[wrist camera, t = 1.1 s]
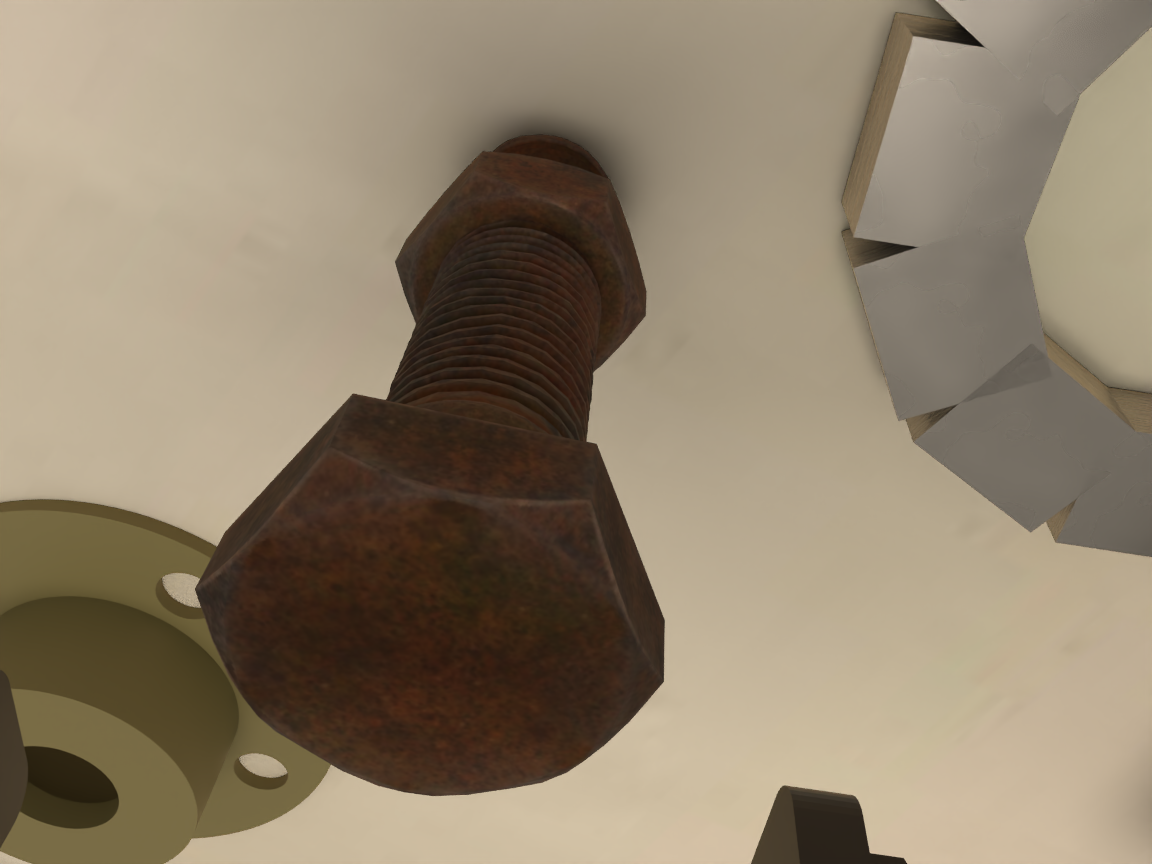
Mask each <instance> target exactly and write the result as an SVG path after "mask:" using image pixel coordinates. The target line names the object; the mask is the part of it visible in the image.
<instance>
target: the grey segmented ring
mask: <svg viewBox="0 0 1152 864" xmlns="http://www.w3.org/2000/svg"><path fill="white" fill-rule="evenodd" d="M936 1H937V2H938V3H939V4H940V5H941V6H942V7H943V8H944V9H945V10H946V11H947V12H948V13H949V14H950V15H951V16H953V17H954V18H955V19H956V20H957V21H958V22H953V21H947V20H941V19H934V18H928V17H922V16H916V15H909V14H903V13H897V12H896V13H895V17H894V20H893V24H892V27H891V31H890V34H889V38H888V41H887V45H886V48H885V52H884V55H883V59H882V62H881V66H880V69H879V73H878V76H877V80H876V83H875V87H874V90H873V94H872V97H871V101H870V104H869V108H868V111H867V114H866V118H865V121H864V125H863V128H862V132H861V135H860V139H859V142H858V146H857V149H856V153H855V156H854V160H853V163H852V167H851V170H850V174H849V177H848V181H847V184H846V188H845V191H844V195H843V198H842V205H843V208H844V211H845V214H846V216H847V219H848V222H849V225H850V228H851V229H848V230H845V231H842V236H843V239H844V242H845V246H846V249H847V252H848V256H849V259H850V263H851V266H852V269H853V273H854V276H855V279H856V283H857V286H858V289H859V293H860V296H861V300H862V303H863V306H864V310H865V313H866V316H867V320H868V323H869V326H870V330H871V333H872V337H873V340H874V343H875V347H876V350H877V353H878V357H879V360H880V364H881V367H882V370H883V374H884V377H885V380H886V383H887V386H888V390H889V393H890V396H891V399H892V402H893V405H894V408H895V411H896V415H897V418H898V421H900V420H904V419H906V421H907V424H908V427H909V430H910V433H911V436H912V439H913V442H914V443H915V444H917V445H918V446H919V447H920V448H922V449H923V450H924V451H926V452H927V453H928V454H930V455H931V456H932V457H933V458H935V459H936V460H937V461H939V462H940V463H941V464H943V465H944V466H945V467H946V468H948V469H949V470H950V471H952V472H953V473H954V474H956V475H957V476H958V477H959V478H961V479H962V480H963V481H965V482H966V483H967V484H969V485H970V486H971V487H972V488H974V489H975V490H976V491H978V492H979V493H980V494H982V495H983V496H984V497H985V498H987V499H988V500H989V501H991V502H992V503H993V504H995V505H996V506H997V507H998V508H1000V509H1001V510H1002V511H1004V512H1005V513H1006V514H1008V515H1009V516H1010V517H1011V518H1013V519H1014V520H1015V521H1017V522H1018V523H1019V524H1021V525H1022V526H1023V527H1024V528H1026V529H1027V530H1028V531H1030V532H1032V531H1033V530H1035V529H1036V528H1037V527H1039V526H1040V525H1041V524H1043V523H1044V522H1046V523H1047V525H1048V527H1049V529H1050V531H1051V533H1052V536H1053V538H1054V540H1055V542H1057V543H1063V544H1070V545H1076V546H1083V547H1089V548H1096V549H1103V550H1109V551H1116V552H1122V553H1129V554H1136V555H1142V556H1149V557H1152V394H1149V393H1142V392H1136V391H1129V390H1123V389H1116V388H1110V387H1107V386H1105V385H1104V384H1103V383H1102V382H1101V381H1099V380H1098V379H1097V378H1096V377H1095V376H1094V375H1092V374H1091V373H1090V372H1089V371H1088V370H1087V369H1085V368H1084V367H1083V366H1082V365H1081V364H1080V363H1078V362H1077V361H1076V360H1075V359H1074V358H1073V357H1071V356H1070V355H1069V354H1068V353H1067V352H1066V351H1064V350H1063V349H1062V348H1061V347H1060V346H1058V345H1057V344H1056V343H1055V342H1054V341H1053V340H1051V339H1050V338H1049V337H1048V336H1047V335H1046V334H1044V333H1043V330H1042V325H1041V320H1040V315H1039V310H1038V305H1037V300H1036V295H1035V290H1034V285H1033V281H1032V276H1031V271H1030V266H1029V261H1028V256H1027V251H1026V246H1025V241H1024V236H1025V234H1026V231H1027V229H1028V226H1029V224H1030V221H1031V219H1032V216H1033V214H1034V211H1035V208H1036V206H1037V203H1038V201H1039V198H1040V196H1041V193H1042V191H1043V188H1044V186H1045V183H1046V180H1047V178H1048V175H1049V173H1050V170H1051V168H1052V165H1053V163H1054V160H1055V158H1056V155H1057V153H1058V150H1059V147H1060V145H1061V142H1062V140H1063V137H1064V135H1065V132H1066V130H1067V127H1068V125H1069V122H1070V119H1071V117H1072V114H1073V112H1074V109H1075V107H1076V104H1077V102H1078V99H1079V97H1080V94H1081V93H1082V92H1083V91H1084V90H1085V89H1086V88H1087V87H1088V86H1089V85H1090V84H1091V83H1092V82H1093V81H1094V80H1096V79H1097V78H1098V77H1099V76H1100V75H1101V74H1102V73H1103V72H1104V71H1105V70H1106V69H1107V68H1108V67H1109V66H1110V65H1111V64H1113V63H1114V62H1115V61H1116V60H1117V59H1118V58H1119V57H1120V56H1121V55H1122V54H1123V53H1124V52H1125V51H1126V50H1127V49H1128V48H1129V47H1131V46H1132V45H1133V44H1134V43H1135V42H1136V41H1137V40H1138V39H1139V38H1140V37H1141V36H1142V35H1143V34H1144V33H1145V32H1146V31H1147V30H1149V29H1150V28H1151V27H1152V0H936Z"/></svg>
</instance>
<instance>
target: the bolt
mask: <svg viewBox="0 0 1152 864" xmlns="http://www.w3.org/2000/svg"><path fill="white" fill-rule="evenodd" d="M395 263H396V267H397V270H398V273H399V277H400V280H401V284H402V287H403V290H404V294H405V296H406V299H407V302H408V304H409V307H410V309H411V312H412V315H413V317H414V320H415V322H416V326H415V329H414V331H413V333H412V337H411V339H410V341H409V343H408V345H407V348H406V350H405V353H404V356H403V359H402V360H401V362H400V365H399V368H398V371H397V372H396V375H395V378H394V380H393V382H392V384H391V387H390V392H389V395H388V397H387V399H386V400H382V399H377V398H372V397H367V396H362V395H357V394H352V395H351V396H350V398H349V399H348V400H347V401H346V402H345V403H344V404H343V405H342V406H341V407H340V408H339V409H338V411H337V412H336V413H335V414H334V415H333V416H332V417H331V418H330V419H329V420H328V421H327V422H326V424H325V425H324V426H323V427H322V428H321V429H320V430H319V431H318V432H317V433H316V434H315V435H314V436H313V438H312V439H311V440H310V441H309V442H308V443H307V444H306V445H305V446H304V447H303V448H302V449H301V451H300V452H299V453H298V454H297V455H296V456H295V457H294V458H293V459H292V460H291V461H290V462H289V464H288V465H287V466H286V467H285V468H284V469H283V470H282V471H281V472H280V473H279V474H278V475H277V477H276V478H275V479H274V480H273V481H272V482H271V483H270V484H269V485H268V486H267V487H266V488H265V490H264V491H263V492H262V493H261V494H260V495H259V496H258V497H257V498H256V499H255V500H254V501H253V502H252V504H251V505H250V506H249V507H248V508H247V509H246V510H245V511H244V512H243V513H242V514H241V515H240V517H239V518H238V519H237V520H236V521H235V522H234V523H233V524H232V525H231V526H230V527H229V528H228V530H227V531H226V532H225V533H224V535H223V537H222V539H221V541H220V543H219V545H218V546H217V548H216V550H215V552H214V554H213V556H212V558H211V560H210V562H209V564H208V565H207V567H206V569H205V571H204V573H203V575H202V577H201V579H200V581H199V582H198V584H197V586H196V588H195V590H196V593H197V596H198V599H199V602H200V605H201V608H202V611H203V614H204V617H205V620H206V623H207V626H208V629H209V632H210V635H211V638H212V641H213V643H214V645H215V647H216V649H217V652H218V654H219V656H220V658H221V660H222V662H223V665H224V667H225V669H226V671H227V673H228V675H229V677H230V679H231V680H232V682H233V683H234V685H235V686H236V688H237V689H238V691H239V692H240V694H241V695H242V697H243V698H244V700H245V701H246V702H247V703H248V705H249V706H250V707H251V709H252V710H253V711H254V712H255V714H256V715H257V716H258V717H259V718H260V719H261V720H263V721H264V722H265V723H266V724H267V725H268V726H270V727H271V728H272V729H273V730H274V731H275V732H277V733H279V734H281V735H282V736H284V737H286V738H287V739H289V740H291V741H292V742H294V743H296V744H297V745H299V746H301V747H302V748H304V749H306V750H307V751H309V752H311V753H312V754H314V755H316V756H318V757H319V758H321V759H323V760H324V761H326V762H328V763H330V764H331V765H333V766H335V767H336V768H338V769H340V770H342V771H344V772H346V773H349V774H351V775H353V776H356V777H358V778H361V779H363V780H366V781H368V782H370V783H373V784H375V785H378V786H382V787H386V788H390V789H394V790H398V791H402V792H407V793H414V794H422V795H429V796H446V795H469V794H475V793H482V792H489V791H496V790H503V789H509V788H516V787H521V786H526V785H532V784H537V783H542V782H545V781H547V780H549V779H552V778H554V777H557V776H559V775H562V774H564V773H566V772H568V771H570V770H571V769H573V768H574V767H576V766H577V765H579V764H580V763H582V762H583V761H584V760H586V759H587V758H588V757H590V756H591V755H592V754H593V753H595V752H596V751H597V750H599V749H600V748H601V747H602V746H604V745H605V744H606V743H607V742H608V741H609V740H610V739H611V738H613V737H614V736H615V735H616V734H617V733H618V732H619V731H620V730H621V729H622V728H623V727H624V726H625V725H626V724H627V723H628V722H629V721H630V720H631V719H632V718H633V717H634V716H635V715H636V713H637V712H638V711H639V710H640V709H641V708H642V706H643V705H644V704H645V703H646V702H647V701H648V699H649V698H650V697H651V696H652V695H653V694H654V692H655V691H656V690H657V689H658V688H659V687H660V685H661V684H662V683H663V682H664V628H665V620H664V617H663V615H662V612H661V610H660V607H659V604H658V602H657V599H656V597H655V594H654V591H653V589H652V586H651V584H650V581H649V579H648V576H647V573H646V571H645V568H644V566H643V563H642V560H641V558H640V555H639V553H638V550H637V547H636V545H635V542H634V540H633V537H632V534H631V532H630V529H629V527H628V524H627V521H626V519H625V516H624V514H623V511H622V509H621V506H620V503H619V501H618V498H617V496H616V493H615V490H614V488H613V485H612V483H611V480H610V477H609V475H608V472H607V470H606V467H605V464H604V462H603V459H602V457H601V454H600V451H599V449H598V446H597V444H594V443H589V442H586V440H587V432H588V421H589V411H590V403H591V398H592V385H593V372H594V371H595V370H596V369H597V368H599V367H600V366H601V365H602V364H603V363H604V362H605V361H606V360H607V359H608V358H609V357H610V356H611V355H612V354H613V353H614V352H615V351H616V350H617V349H618V348H619V347H620V345H621V344H622V343H623V342H624V341H625V340H626V339H627V338H628V336H629V335H630V334H631V333H632V332H633V330H634V329H635V328H636V327H637V326H638V324H639V323H640V322H641V321H642V320H643V318H644V317H645V316H646V288H645V284H644V280H643V276H642V272H641V268H640V264H639V261H638V257H637V254H636V251H635V247H634V244H633V241H632V237H631V234H630V231H629V228H628V225H627V222H626V219H625V217H624V214H623V211H622V208H621V205H620V203H619V200H618V198H617V195H616V193H615V191H614V188H613V186H612V183H611V181H610V179H608V177H607V175H606V174H605V172H604V171H603V170H602V168H601V167H600V165H599V164H598V162H597V161H596V160H595V159H594V158H593V157H592V156H591V155H590V154H589V153H588V152H587V151H586V150H584V149H583V148H582V147H580V146H579V145H577V144H575V143H573V142H571V141H569V140H567V139H564V138H560V137H557V136H550V135H528V136H520V137H517V138H514V139H511V140H508V141H506V142H505V143H503V144H501V145H500V146H498V147H497V148H496V149H495V150H494V151H493V152H485V151H483V152H482V153H481V154H480V155H479V156H478V157H477V158H476V159H475V160H474V161H473V162H472V163H471V164H470V165H469V166H468V167H467V168H466V169H465V170H464V171H463V172H462V173H461V174H460V176H459V177H458V178H457V179H456V180H455V181H454V182H453V183H452V184H451V186H450V187H449V188H448V189H447V190H446V191H445V192H444V194H443V195H442V196H441V197H440V198H439V200H438V201H437V202H436V203H435V204H434V205H433V207H432V208H431V209H430V210H429V211H428V213H427V214H426V215H425V216H424V218H423V219H422V220H421V222H420V223H419V224H418V225H417V227H416V228H415V229H414V230H413V232H412V233H411V234H410V236H409V237H408V238H407V239H406V241H405V243H404V245H403V247H402V249H401V251H400V253H399V255H398V257H397V259H396V261H395Z"/></svg>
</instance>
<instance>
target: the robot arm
mask: <svg viewBox="0 0 1152 864" xmlns="http://www.w3.org/2000/svg"><path fill="white" fill-rule="evenodd" d="M27 780H28V763H27V758H26V753H25V749H24V745H23V740H22V736H21V731H20V727H19V722H18V718H17V713H16V709H15V704H14V700H13V695H12V691H11V687H10V682H9V679H8V677H7V675H6V673H4V672H3V671H2V670H0V848H1V846H2V844H3V843H4V841H5V839H6V837H7V836H8V834H9V832H10V831H11V829H12V827H13V825H14V823H15V821H16V819H17V817H18V814H19V812H20V809H21V806H22V803H23V800H24V796H25V792H26V787H27ZM751 864H907V863H906V861H905V860H904V858H899V857H892V856H885V855H878V854H871V853H870V852H869V846H868V841H867V835H866V830H865V824H864V819H863V814H862V809H861V806H860V804H859V802H858V800H857V798H856V797H855V796H853V795H847V794H840V793H833V792H826V791H819V790H812V789H805V788H798V787H791V786H782V787H781V788H780V790H779V791H778V794H777V796H776V799H775V801H774V804H773V807H772V809H771V812H770V815H769V817H768V820H767V823H766V825H765V828H764V831H763V833H762V836H761V839H760V841H759V844H758V847H757V849H756V852H755V855H754V857H753V860H752V863H751Z"/></svg>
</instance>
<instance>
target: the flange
mask: <svg viewBox="0 0 1152 864" xmlns="http://www.w3.org/2000/svg"><path fill="white" fill-rule="evenodd" d="M216 548H217V547H216V546H214V545H212V544H211V543H209V542H207V541H205V540H203V539H201V538H199V537H197V536H195V535H193V534H191V533H188V532H186V531H184V530H182V529H179V528H177V527H174V526H172V525H169V524H167V523H164V522H161V521H159V520H156V519H153V518H150V517H147V516H144V515H140V514H137V513H133V512H130V511H126V510H122V509H118V508H113V507H108V506H104V505H98V504H92V503H85V502H77V501H66V500H21V501H10V502H3V503H0V670H2V671H3V672H4V673H6V675H7V677H8V679H9V682H10V687H11V691H12V695H13V700H14V704H15V709H16V713H17V718H18V722H19V727H20V731H21V736H22V740H23V745H24V749H25V753H26V758H27V763H28V780H27V787H26V792H25V796H24V800H23V803H22V806H21V809H20V812H19V814H18V817H17V819H16V821H15V823H14V825H13V827H12V829H11V831H10V832H9V834H8V836H7V837H6V839H5V841H4V843H3V844H2V846H1V848H0V851H1V852H4V853H6V854H8V855H10V856H13V857H15V858H18V859H20V860H23V861H26V862H29V863H32V864H164V863H166V862H168V861H169V860H171V859H173V858H174V857H175V856H177V855H178V854H179V853H180V852H181V851H182V850H183V849H184V848H185V847H186V846H187V845H188V843H189V842H190V840H191V838H205V837H214V836H221V835H227V834H232V833H236V832H240V831H244V830H248V829H251V828H254V827H257V826H260V825H262V824H265V823H267V822H270V821H272V820H274V819H276V818H278V817H280V816H282V815H283V814H285V813H287V812H288V811H290V810H292V809H293V808H295V807H296V806H297V805H298V804H300V803H301V802H302V801H303V800H305V799H306V798H307V797H308V796H309V795H310V794H311V793H312V792H313V791H314V790H315V789H316V787H317V786H318V785H319V784H320V782H321V781H322V779H323V778H324V776H325V775H326V773H327V771H328V769H329V767H330V765H331V764H330V763H328V762H326V761H324V760H323V759H321V758H319V757H318V756H316V755H314V754H312V753H311V752H309V751H307V750H306V749H304V748H302V747H301V746H299V745H297V744H296V743H294V742H292V741H291V740H289V739H287V738H286V737H284V736H282V735H281V734H279V733H277V732H275V731H274V730H273V729H272V728H271V727H270V726H268V725H267V724H266V723H265V722H264V721H263V720H261V719H260V718H259V717H258V716H257V715H256V714H255V712H254V711H253V710H252V709H251V707H250V706H249V705H248V703H247V702H246V701H245V700H244V698H243V697H242V695H241V694H240V692H239V691H238V689H237V688H236V686H235V685H234V683H233V682H232V680H231V679H230V677H229V675H228V673H227V671H226V669H225V667H224V665H223V662H222V660H221V658H220V656H219V654H218V652H217V649H216V647H215V645H214V643H213V641H212V638H211V635H210V632H209V629H208V626H207V623H206V620H205V617H204V614H203V611H202V608H194V607H189V606H186V605H184V604H181V603H180V602H178V601H176V600H175V599H173V598H172V597H171V596H170V595H169V594H168V593H167V591H166V590H165V588H164V586H163V583H162V577H163V576H165V575H168V574H171V573H186V574H190V575H193V576H196V577H198V578H200V579H201V577H202V575H203V573H204V571H205V569H206V567H207V565H208V564H209V562H210V560H211V558H212V556H213V554H214V552H215V550H216ZM250 753H259V754H264V755H268V756H270V757H273V758H274V759H276V760H278V761H279V762H280V763H282V764H283V765H284V767H285V768H286V770H287V772H288V773H287V774H286V775H284V776H282V777H277V778H266V777H261V776H258V775H255V774H253V773H251V772H250V771H248V770H247V769H246V768H244V767H243V765H242V764H241V763H240V761H239V757H240V756H242V755H245V754H250Z"/></svg>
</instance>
